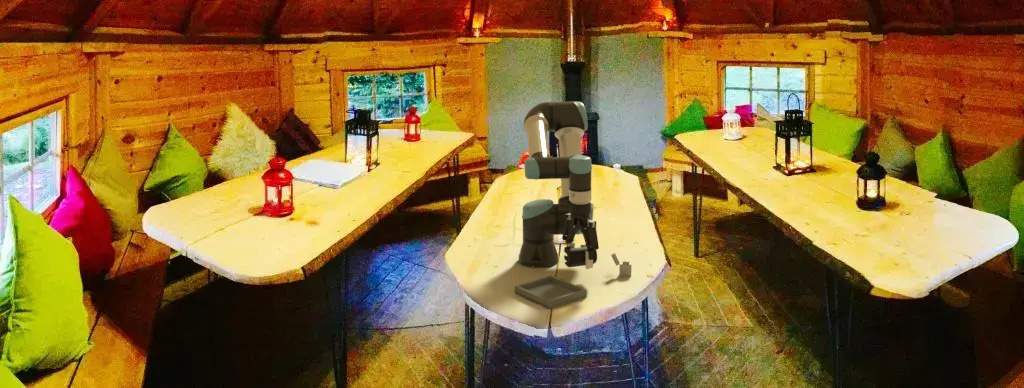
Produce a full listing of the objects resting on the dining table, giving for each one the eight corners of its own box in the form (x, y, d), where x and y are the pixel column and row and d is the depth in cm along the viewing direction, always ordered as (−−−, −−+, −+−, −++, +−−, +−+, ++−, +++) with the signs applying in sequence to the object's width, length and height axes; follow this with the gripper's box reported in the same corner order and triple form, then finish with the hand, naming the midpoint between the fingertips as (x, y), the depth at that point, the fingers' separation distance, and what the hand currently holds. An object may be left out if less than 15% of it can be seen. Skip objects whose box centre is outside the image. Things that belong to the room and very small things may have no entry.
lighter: (631, 274, 254) (631, 253, 252) (631, 276, 252) (631, 254, 251) (611, 273, 255) (611, 252, 253) (611, 275, 253) (611, 254, 251)
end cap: (570, 270, 242) (570, 251, 240) (563, 263, 249) (562, 245, 247) (597, 267, 245) (597, 248, 243) (589, 260, 251) (589, 242, 250)
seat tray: (514, 293, 238) (514, 285, 238) (551, 282, 248) (551, 275, 247) (549, 309, 224) (548, 301, 224) (586, 297, 234) (586, 289, 233)
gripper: (551, 197, 247) (551, 258, 253) (593, 210, 230) (593, 275, 236) (567, 193, 252) (567, 254, 257) (610, 206, 235) (609, 270, 240)
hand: (580, 264), depth 247 cm, fingers closed on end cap, 9 cm apart
